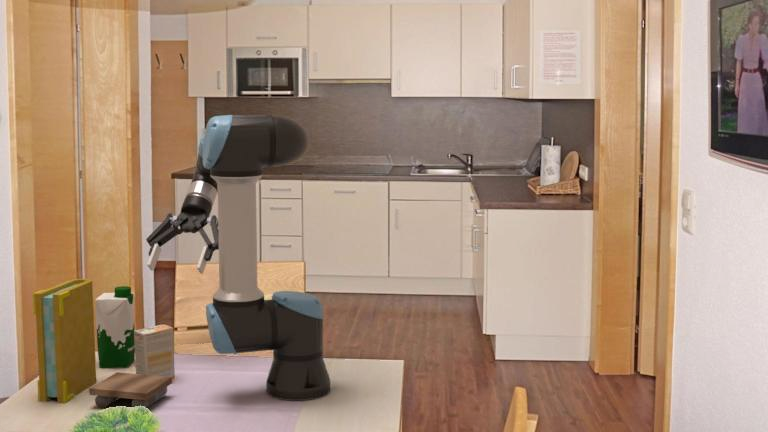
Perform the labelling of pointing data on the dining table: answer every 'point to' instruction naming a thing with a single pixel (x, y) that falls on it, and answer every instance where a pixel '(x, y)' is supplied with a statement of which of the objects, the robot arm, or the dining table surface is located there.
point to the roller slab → (130, 389)
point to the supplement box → (155, 351)
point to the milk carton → (115, 328)
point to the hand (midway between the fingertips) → (174, 269)
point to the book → (65, 339)
